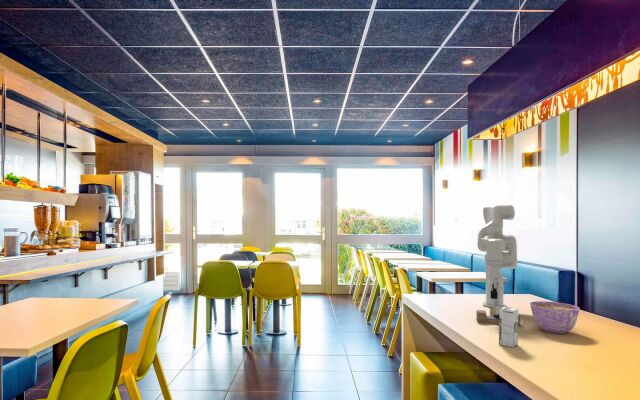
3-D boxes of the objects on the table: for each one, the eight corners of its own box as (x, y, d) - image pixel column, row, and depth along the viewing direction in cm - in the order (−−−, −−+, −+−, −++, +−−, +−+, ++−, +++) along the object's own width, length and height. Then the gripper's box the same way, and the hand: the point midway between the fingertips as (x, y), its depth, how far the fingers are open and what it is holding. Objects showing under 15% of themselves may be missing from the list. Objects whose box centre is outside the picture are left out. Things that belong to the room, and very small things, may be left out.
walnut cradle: (476, 319, 216) (476, 309, 217) (517, 323, 212) (517, 312, 212) (477, 322, 211) (477, 312, 211) (519, 325, 206) (520, 315, 206)
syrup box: (503, 341, 178) (503, 306, 178) (518, 344, 174) (518, 308, 175) (498, 344, 173) (498, 308, 174) (514, 347, 170) (514, 310, 170)
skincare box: (501, 310, 221) (508, 305, 210) (502, 319, 219) (509, 315, 208) (488, 309, 222) (494, 305, 211) (489, 318, 220) (495, 314, 209)
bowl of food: (587, 338, 186) (587, 311, 186) (536, 335, 190) (536, 308, 190) (570, 327, 205) (570, 302, 206) (524, 324, 209) (524, 300, 210)
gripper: (484, 261, 234) (484, 295, 234) (488, 264, 220) (488, 301, 219) (499, 261, 232) (499, 296, 232) (504, 265, 218) (503, 302, 218)
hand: (494, 298), depth 226 cm, fingers closed
